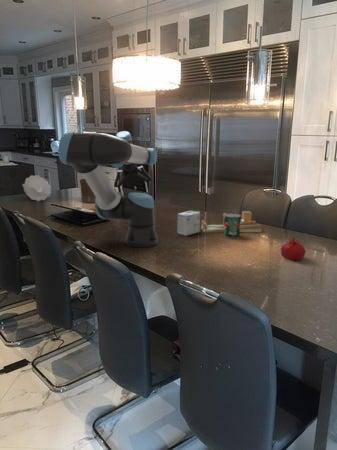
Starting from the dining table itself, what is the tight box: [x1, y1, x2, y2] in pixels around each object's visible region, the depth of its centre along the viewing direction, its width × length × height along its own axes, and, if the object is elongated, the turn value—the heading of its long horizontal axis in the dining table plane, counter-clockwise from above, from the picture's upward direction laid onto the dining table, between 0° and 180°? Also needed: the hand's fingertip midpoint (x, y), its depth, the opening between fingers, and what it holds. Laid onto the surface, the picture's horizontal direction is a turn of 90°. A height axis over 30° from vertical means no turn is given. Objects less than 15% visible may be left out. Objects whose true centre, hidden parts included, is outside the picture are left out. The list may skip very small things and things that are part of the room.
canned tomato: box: [223, 213, 242, 239], centre depth 187 cm, size 8×8×11 cm
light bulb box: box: [177, 210, 201, 236], centre depth 192 cm, size 11×7×11 cm, turn 135°
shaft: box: [240, 210, 253, 225], centre depth 199 cm, size 4×9×8 cm, turn 96°
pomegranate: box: [280, 236, 306, 262], centre depth 156 cm, size 10×10×9 cm
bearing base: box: [201, 212, 262, 234], centre depth 199 cm, size 10×30×8 cm, turn 96°
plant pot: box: [78, 178, 96, 204], centre depth 268 cm, size 16×16×16 cm
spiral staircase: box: [21, 174, 52, 202], centre depth 276 cm, size 18×18×25 cm
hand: (135, 193), depth 203 cm, fingers open, 13 cm apart
